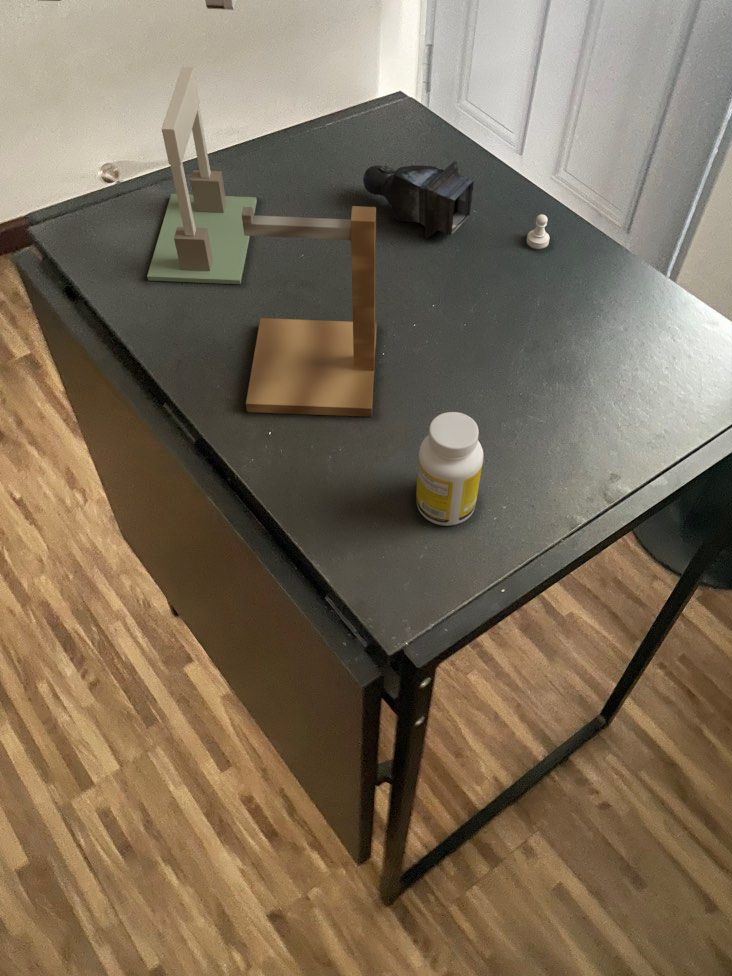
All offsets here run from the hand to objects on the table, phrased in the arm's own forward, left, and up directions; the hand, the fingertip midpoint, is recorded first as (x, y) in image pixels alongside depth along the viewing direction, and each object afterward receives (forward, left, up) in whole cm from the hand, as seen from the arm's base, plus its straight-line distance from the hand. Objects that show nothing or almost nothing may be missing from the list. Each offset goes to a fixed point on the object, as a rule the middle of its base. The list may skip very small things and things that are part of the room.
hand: (136, 0), depth 46 cm
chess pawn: (+31, +32, -38) cm, 59 cm away
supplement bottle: (+20, -6, -38) cm, 43 cm away
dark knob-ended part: (+17, +36, -38) cm, 55 cm away
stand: (+7, +10, -38) cm, 40 cm away
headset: (-7, +30, -37) cm, 49 cm away
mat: (-7, +30, -38) cm, 49 cm away
